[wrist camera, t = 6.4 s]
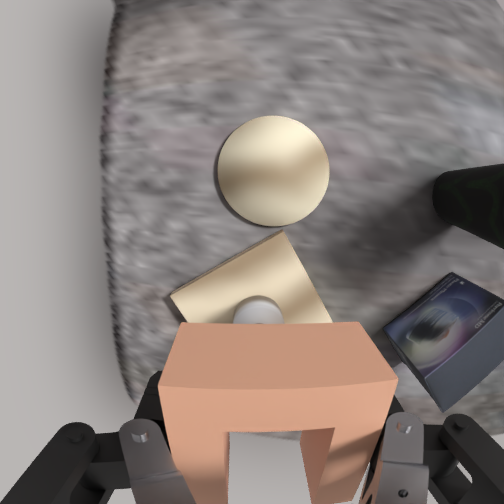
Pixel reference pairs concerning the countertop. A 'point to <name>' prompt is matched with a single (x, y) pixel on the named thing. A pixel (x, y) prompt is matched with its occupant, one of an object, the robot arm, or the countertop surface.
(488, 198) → the cup
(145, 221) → the countertop surface
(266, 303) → the peg stand
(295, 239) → the countertop surface
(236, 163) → the coaster
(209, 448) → the c link
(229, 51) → the countertop surface
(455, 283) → the small box
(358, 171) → the countertop surface
